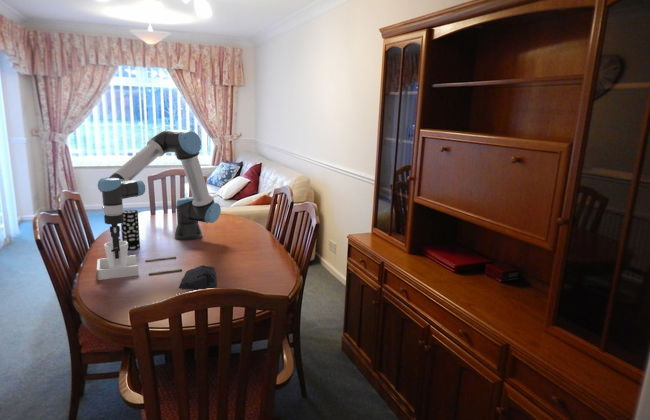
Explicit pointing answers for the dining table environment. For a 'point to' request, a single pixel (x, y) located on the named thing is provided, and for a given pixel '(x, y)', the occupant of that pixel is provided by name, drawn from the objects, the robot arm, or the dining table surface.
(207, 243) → the dining table surface
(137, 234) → the white-spotted black cylinder
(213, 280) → the dark slate chunk
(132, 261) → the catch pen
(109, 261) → the foam cup
